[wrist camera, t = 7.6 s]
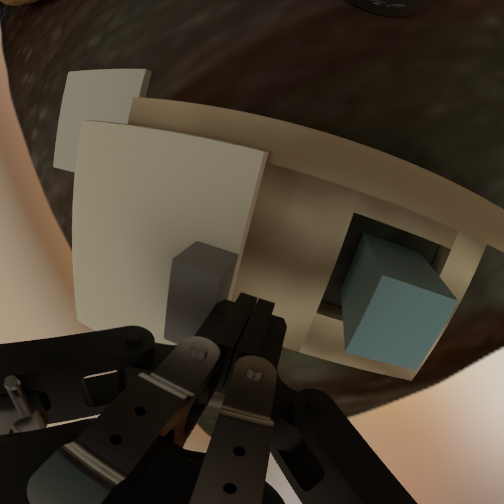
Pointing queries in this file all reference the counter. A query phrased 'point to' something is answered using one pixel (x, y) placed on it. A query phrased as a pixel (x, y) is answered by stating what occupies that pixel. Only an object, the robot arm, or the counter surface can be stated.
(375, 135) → the counter surface
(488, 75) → the counter surface
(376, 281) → the block
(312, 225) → the puzzle board
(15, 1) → the potato
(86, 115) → the mat
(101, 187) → the cover
